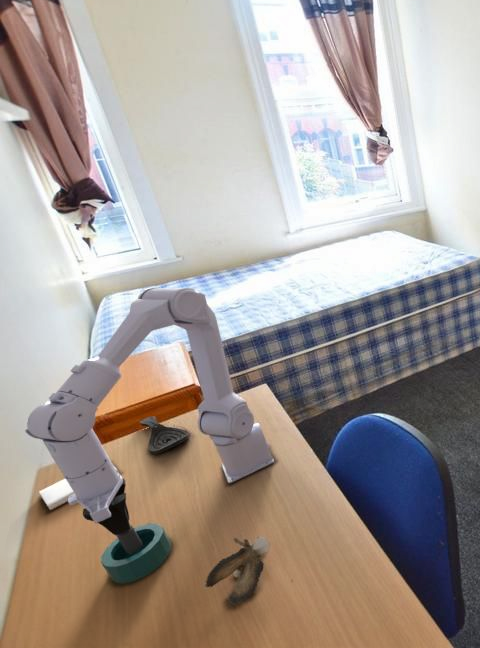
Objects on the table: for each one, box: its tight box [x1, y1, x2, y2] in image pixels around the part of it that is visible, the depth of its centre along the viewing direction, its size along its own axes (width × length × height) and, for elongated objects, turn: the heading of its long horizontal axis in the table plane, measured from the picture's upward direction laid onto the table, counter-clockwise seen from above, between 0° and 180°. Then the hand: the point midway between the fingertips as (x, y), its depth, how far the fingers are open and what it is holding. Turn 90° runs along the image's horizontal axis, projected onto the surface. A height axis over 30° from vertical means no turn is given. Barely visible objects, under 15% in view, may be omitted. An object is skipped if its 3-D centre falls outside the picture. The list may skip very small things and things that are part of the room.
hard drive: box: [38, 464, 121, 511], centre depth 106 cm, size 2×8×12 cm
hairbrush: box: [139, 415, 191, 455], centre depth 120 cm, size 8×4×25 cm
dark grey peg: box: [115, 523, 143, 554], centre depth 82 cm, size 2×2×11 cm
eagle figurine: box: [204, 536, 271, 606], centre depth 79 cm, size 8×7×9 cm
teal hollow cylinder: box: [100, 523, 172, 584], centre depth 84 cm, size 9×9×4 cm
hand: (122, 526), depth 82 cm, fingers closed on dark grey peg, 2 cm apart
